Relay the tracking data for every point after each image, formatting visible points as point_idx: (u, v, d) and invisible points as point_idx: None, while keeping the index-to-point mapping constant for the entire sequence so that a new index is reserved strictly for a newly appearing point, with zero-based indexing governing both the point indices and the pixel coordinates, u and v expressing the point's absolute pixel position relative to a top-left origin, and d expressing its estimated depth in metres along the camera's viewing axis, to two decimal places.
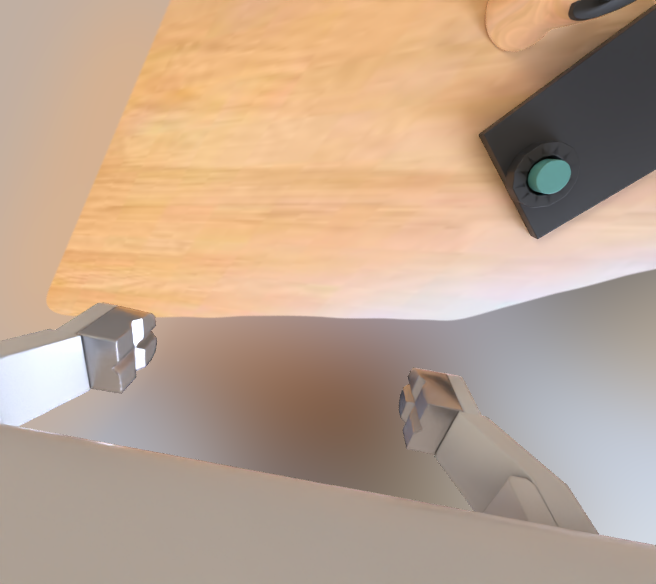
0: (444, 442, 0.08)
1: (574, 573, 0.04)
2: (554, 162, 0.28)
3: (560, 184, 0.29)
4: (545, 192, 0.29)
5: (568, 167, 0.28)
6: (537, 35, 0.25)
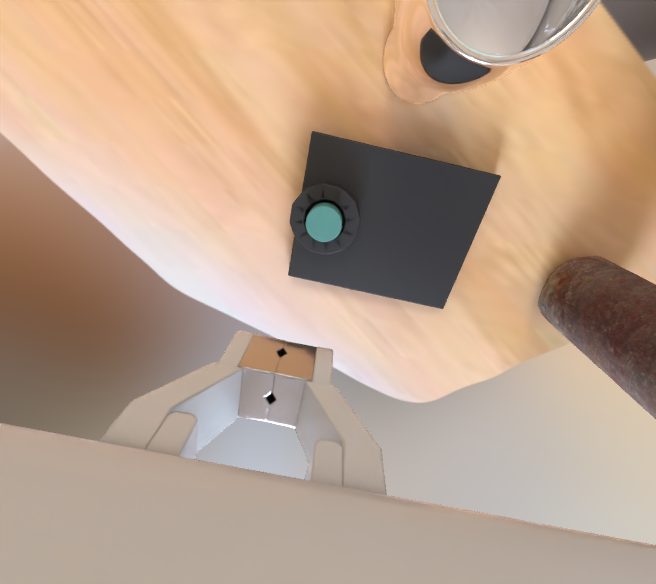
0: (299, 414, 0.08)
1: (574, 573, 0.04)
2: (332, 211, 0.25)
3: (324, 236, 0.26)
4: (308, 231, 0.26)
5: (339, 227, 0.25)
6: (403, 81, 0.21)
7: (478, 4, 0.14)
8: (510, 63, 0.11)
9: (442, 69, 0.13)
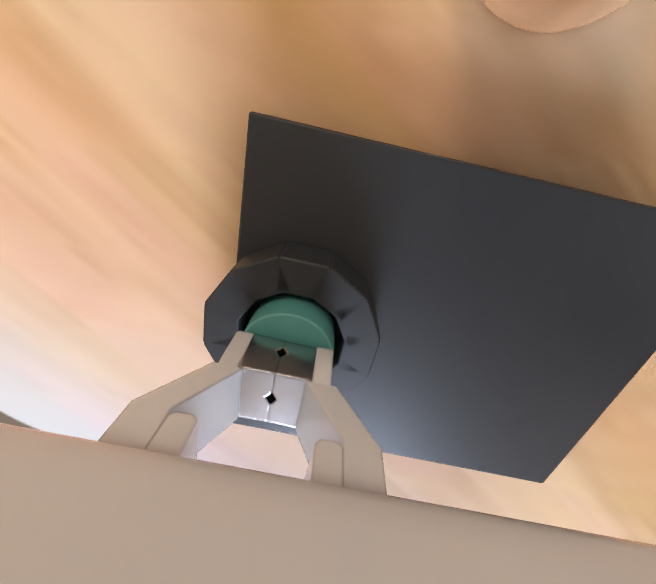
0: (299, 414, 0.08)
1: (574, 573, 0.04)
2: (308, 327, 0.09)
3: None
4: None
5: None
6: None
7: None
8: None
9: None
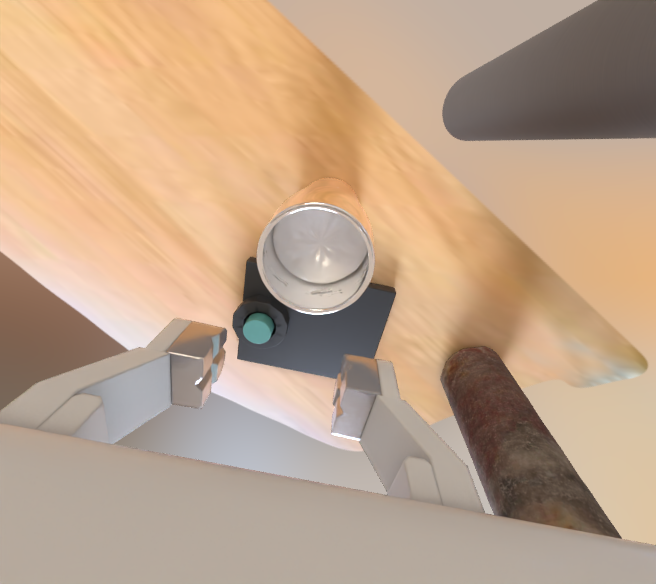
0: (366, 427, 0.08)
1: (574, 573, 0.04)
2: (262, 324, 0.32)
3: (258, 340, 0.33)
4: (245, 336, 0.33)
5: (269, 334, 0.32)
6: None
7: (321, 247, 0.21)
8: (322, 313, 0.18)
9: None
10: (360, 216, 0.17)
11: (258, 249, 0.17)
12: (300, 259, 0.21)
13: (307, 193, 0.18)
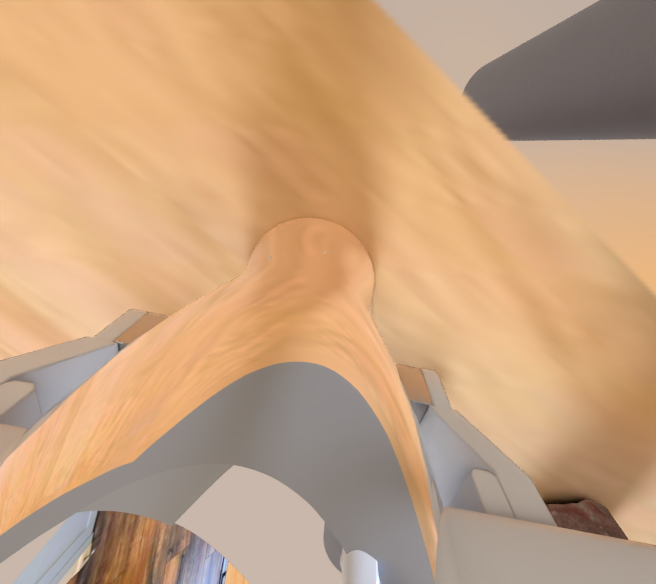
0: None
1: (574, 573, 0.04)
2: None
3: None
4: None
5: None
6: None
7: None
8: None
9: None
10: None
11: None
12: None
13: (12, 538, 0.02)
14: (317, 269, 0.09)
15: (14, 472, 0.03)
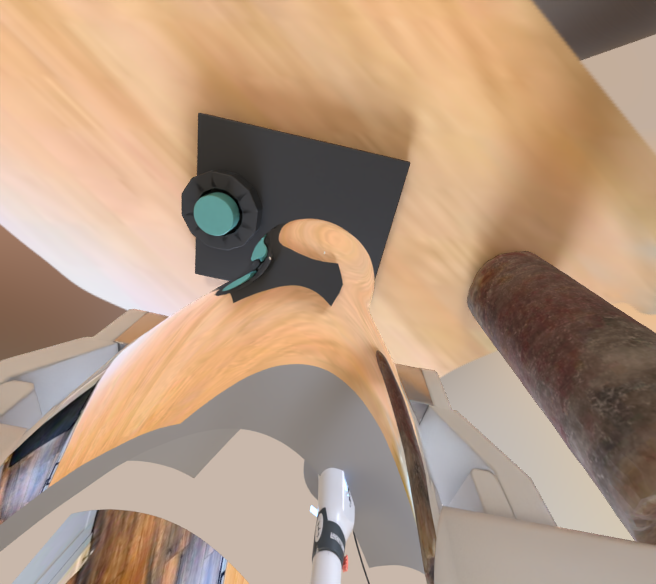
0: None
1: (574, 573, 0.04)
2: (221, 201, 0.22)
3: (216, 230, 0.23)
4: (198, 224, 0.23)
5: (231, 220, 0.23)
6: None
7: None
8: None
9: None
10: None
11: None
12: None
13: (10, 539, 0.02)
14: (317, 269, 0.09)
15: (13, 473, 0.03)
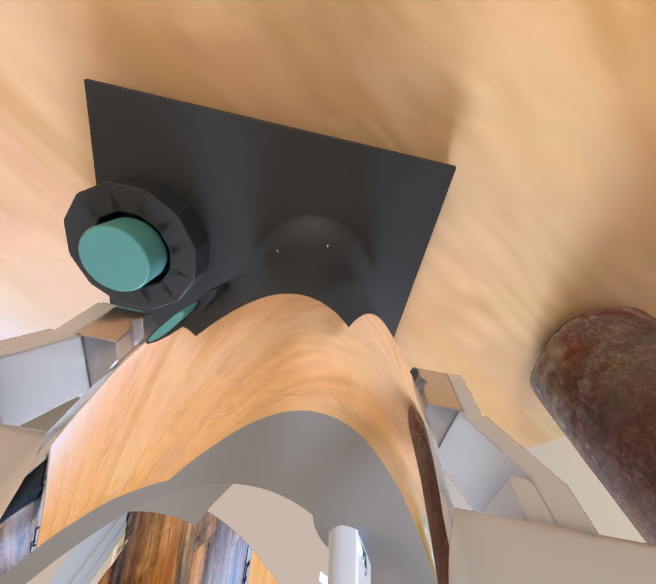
0: (444, 442, 0.08)
1: (574, 573, 0.04)
2: (123, 236, 0.13)
3: (121, 282, 0.13)
4: (90, 273, 0.13)
5: (145, 266, 0.13)
6: None
7: None
8: None
9: None
10: None
11: None
12: None
13: (122, 442, 0.03)
14: (322, 260, 0.10)
15: (104, 406, 0.04)
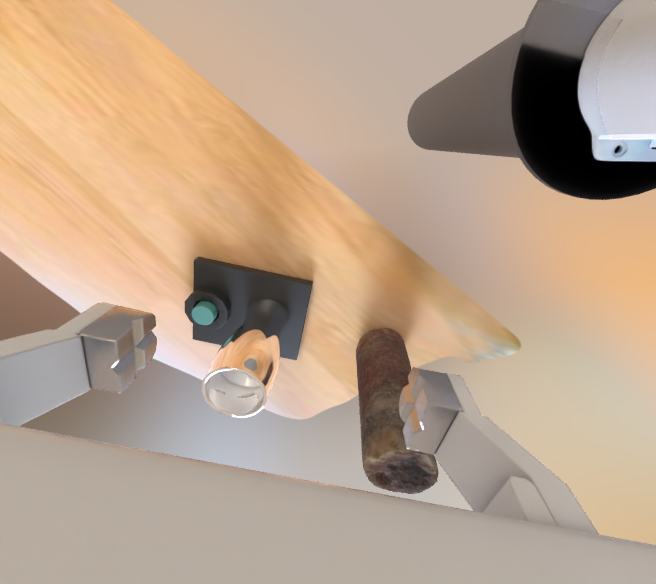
0: (444, 442, 0.08)
1: (574, 573, 0.04)
2: (206, 309, 0.41)
3: (204, 322, 0.42)
4: (194, 319, 0.42)
5: (212, 317, 0.41)
6: None
7: None
8: None
9: None
10: (259, 367, 0.31)
11: (202, 387, 0.30)
12: (234, 375, 0.35)
13: (231, 351, 0.31)
14: (263, 320, 0.38)
15: (227, 349, 0.32)
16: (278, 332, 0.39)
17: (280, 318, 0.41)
